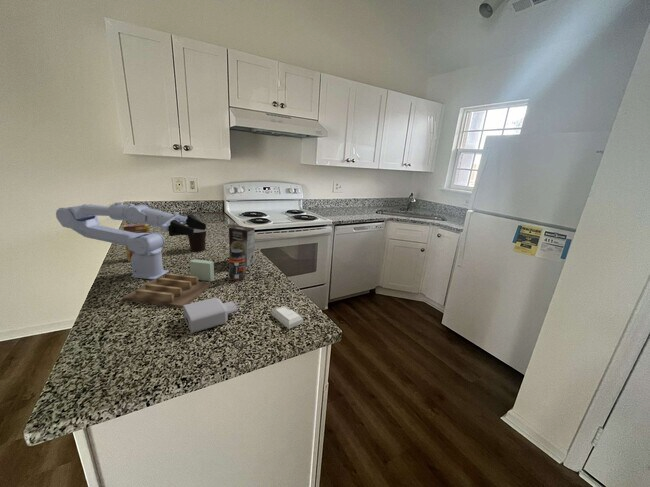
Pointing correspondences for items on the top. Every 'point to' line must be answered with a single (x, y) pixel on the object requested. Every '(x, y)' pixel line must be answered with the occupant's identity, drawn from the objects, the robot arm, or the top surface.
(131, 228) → the candy box
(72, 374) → the top surface
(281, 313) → the soap bar
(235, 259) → the supplement bottle
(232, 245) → the coffee box
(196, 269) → the pale green block
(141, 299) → the dish rack
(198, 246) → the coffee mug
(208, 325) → the grey bottle
